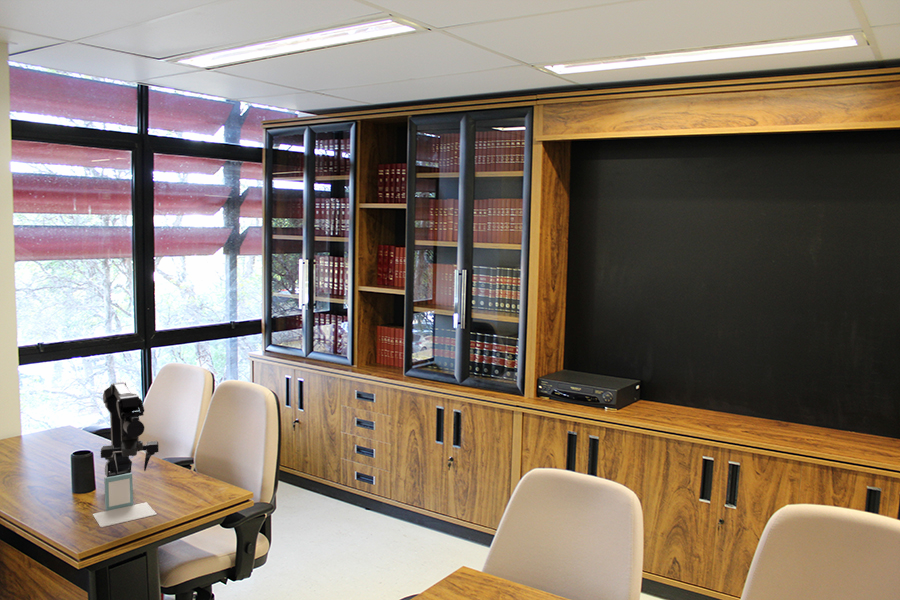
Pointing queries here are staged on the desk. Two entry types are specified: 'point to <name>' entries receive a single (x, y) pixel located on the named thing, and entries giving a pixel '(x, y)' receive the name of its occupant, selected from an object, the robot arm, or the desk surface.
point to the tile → (118, 491)
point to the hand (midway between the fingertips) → (130, 472)
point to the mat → (124, 514)
